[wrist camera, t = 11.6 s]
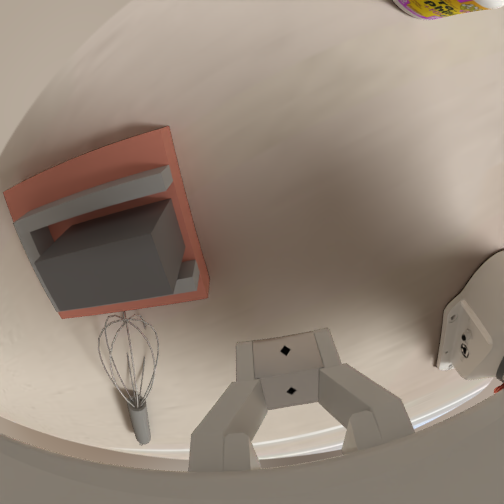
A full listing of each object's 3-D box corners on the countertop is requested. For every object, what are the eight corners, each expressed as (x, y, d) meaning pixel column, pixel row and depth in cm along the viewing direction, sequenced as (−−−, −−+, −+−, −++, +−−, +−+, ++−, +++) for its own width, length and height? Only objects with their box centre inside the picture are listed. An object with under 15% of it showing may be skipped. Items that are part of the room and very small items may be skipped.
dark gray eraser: (185, 247, 22) (173, 293, 17) (89, 267, 22) (59, 311, 17) (171, 198, 20) (150, 233, 15) (71, 225, 20) (33, 262, 15)
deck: (209, 278, 27) (206, 317, 22) (72, 301, 28) (52, 335, 23) (169, 125, 20) (150, 132, 16) (21, 182, 21) (-14, 202, 16)
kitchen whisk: (129, 434, 43) (124, 462, 37) (107, 290, 28) (86, 331, 22) (161, 440, 44) (158, 469, 38) (163, 301, 29) (152, 345, 23)
